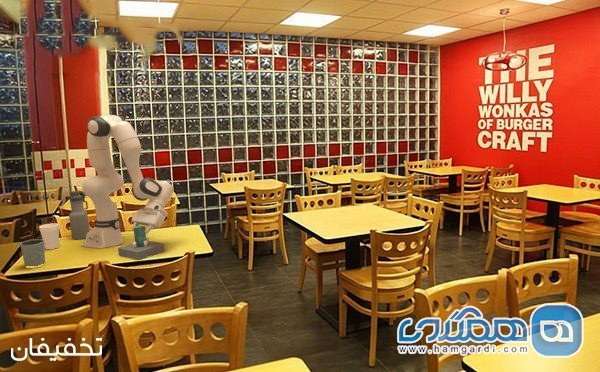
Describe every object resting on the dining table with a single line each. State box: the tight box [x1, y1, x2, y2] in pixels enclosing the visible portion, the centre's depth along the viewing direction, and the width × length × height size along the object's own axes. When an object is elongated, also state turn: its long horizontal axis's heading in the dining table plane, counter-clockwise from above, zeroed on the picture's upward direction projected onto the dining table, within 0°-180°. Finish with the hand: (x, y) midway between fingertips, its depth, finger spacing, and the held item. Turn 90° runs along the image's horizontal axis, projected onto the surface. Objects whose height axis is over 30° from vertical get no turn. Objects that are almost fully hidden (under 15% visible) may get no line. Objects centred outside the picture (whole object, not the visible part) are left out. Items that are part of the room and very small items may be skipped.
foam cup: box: [38, 222, 60, 250], centre depth 248 cm, size 10×9×13 cm
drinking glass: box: [20, 238, 46, 267], centre depth 220 cm, size 10×10×12 cm
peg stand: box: [117, 237, 166, 261], centre depth 233 cm, size 16×16×7 cm
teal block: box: [132, 225, 147, 247], centre depth 232 cm, size 4×4×10 cm
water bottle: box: [68, 190, 90, 241], centre depth 267 cm, size 10×10×28 cm
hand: (139, 231), depth 231 cm, fingers open, 8 cm apart
